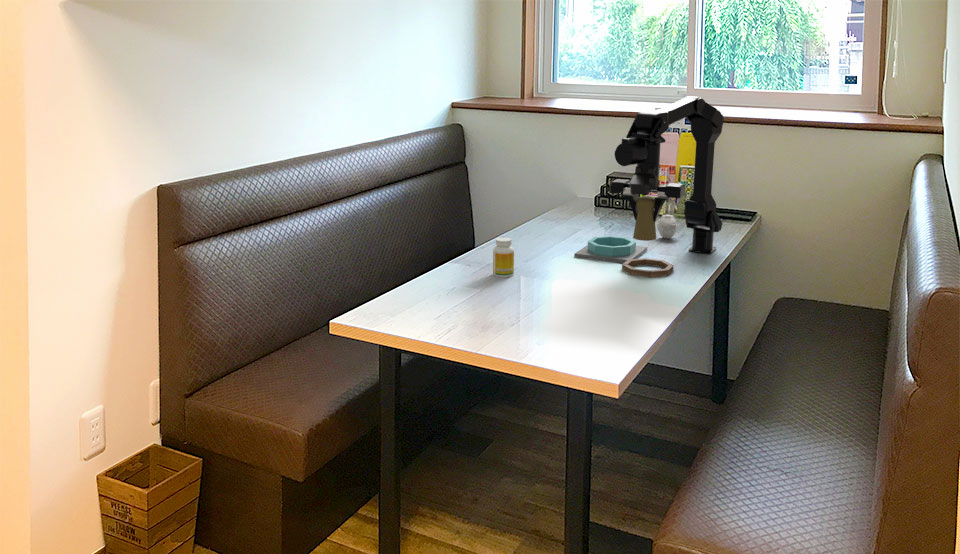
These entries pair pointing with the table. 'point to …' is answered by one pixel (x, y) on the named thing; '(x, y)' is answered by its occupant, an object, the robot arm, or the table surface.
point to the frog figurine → (667, 226)
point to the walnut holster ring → (647, 273)
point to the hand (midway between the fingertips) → (645, 220)
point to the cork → (645, 219)
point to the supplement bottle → (503, 258)
